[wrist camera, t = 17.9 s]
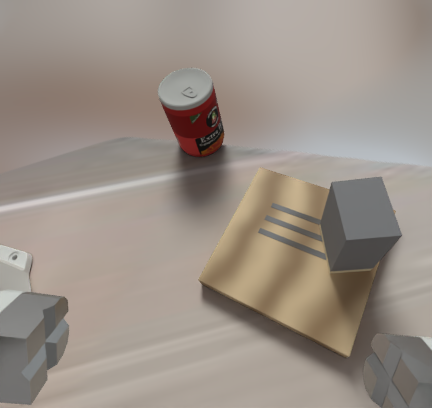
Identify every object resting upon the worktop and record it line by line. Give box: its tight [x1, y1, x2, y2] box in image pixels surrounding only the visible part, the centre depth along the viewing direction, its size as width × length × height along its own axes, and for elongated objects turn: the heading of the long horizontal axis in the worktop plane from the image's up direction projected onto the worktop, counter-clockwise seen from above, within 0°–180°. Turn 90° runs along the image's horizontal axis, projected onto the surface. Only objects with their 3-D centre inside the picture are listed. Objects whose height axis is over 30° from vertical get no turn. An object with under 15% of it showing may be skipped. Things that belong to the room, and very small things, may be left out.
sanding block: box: [319, 177, 402, 274], centre depth 32 cm, size 6×4×10 cm
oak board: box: [198, 167, 396, 358], centre depth 38 cm, size 18×18×2 cm
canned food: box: [158, 68, 224, 157], centre depth 47 cm, size 8×8×11 cm
